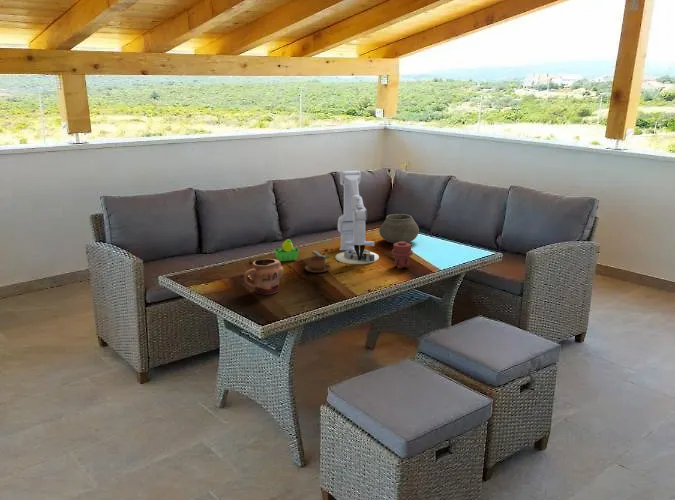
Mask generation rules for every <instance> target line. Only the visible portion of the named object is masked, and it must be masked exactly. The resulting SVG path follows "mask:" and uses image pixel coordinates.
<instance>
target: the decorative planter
mask: <svg viewBox="0 0 675 500" xmlns="http://www.w3.org/2000/svg"><path fill="white" fill-rule="evenodd" d="M284 270H285V269H284V267H283V266H282V263H281V261H279V260H278V259H277V258H276V259H275V258H263V259H257V260H254V261H253V262H252V264H251V268H250V269H248V270H247V271H245V272H244V275H243V281H244V282H245V283H246V284H247V285H248V286H250V287H253V288H254V291H255V292H256V294H259V295H266V296H267V295H273V294H275V293H278V292H279V291H280V279H281V278H282V276H283V275H284ZM248 277H250V279H251V282H250V281H249V280H248Z"/></svg>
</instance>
